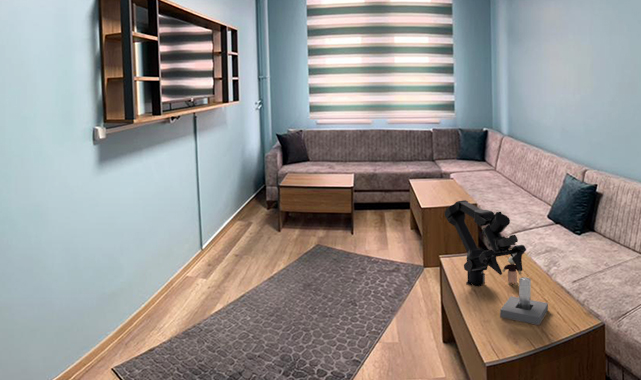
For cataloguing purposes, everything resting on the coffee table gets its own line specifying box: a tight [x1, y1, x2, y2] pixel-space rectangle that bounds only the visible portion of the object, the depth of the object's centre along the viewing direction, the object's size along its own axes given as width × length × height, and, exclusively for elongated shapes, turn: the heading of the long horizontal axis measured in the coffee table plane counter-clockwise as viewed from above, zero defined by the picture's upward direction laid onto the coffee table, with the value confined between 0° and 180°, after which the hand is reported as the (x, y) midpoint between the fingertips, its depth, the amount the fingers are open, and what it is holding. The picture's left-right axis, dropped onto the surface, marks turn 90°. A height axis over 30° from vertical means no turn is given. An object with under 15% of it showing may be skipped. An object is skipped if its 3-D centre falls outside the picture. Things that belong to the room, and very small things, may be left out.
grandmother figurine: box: [502, 255, 522, 286], centre depth 224 cm, size 8×4×13 cm, turn 71°
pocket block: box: [499, 295, 549, 326], centre depth 197 cm, size 14×14×3 cm
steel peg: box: [518, 276, 532, 311], centre depth 196 cm, size 4×4×14 cm
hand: (511, 272), depth 202 cm, fingers open, 9 cm apart
